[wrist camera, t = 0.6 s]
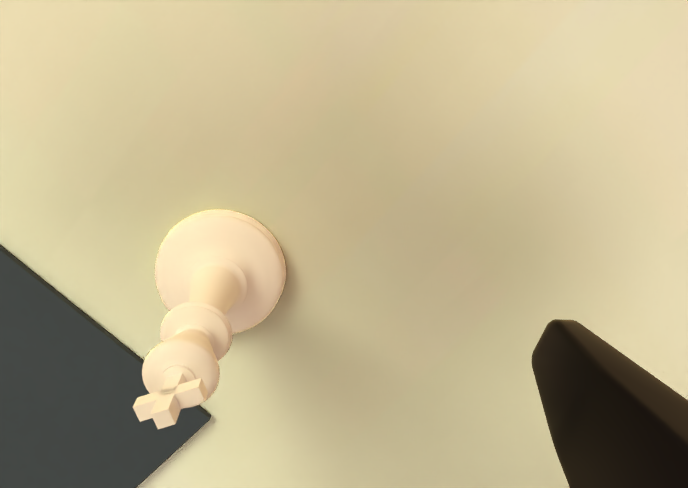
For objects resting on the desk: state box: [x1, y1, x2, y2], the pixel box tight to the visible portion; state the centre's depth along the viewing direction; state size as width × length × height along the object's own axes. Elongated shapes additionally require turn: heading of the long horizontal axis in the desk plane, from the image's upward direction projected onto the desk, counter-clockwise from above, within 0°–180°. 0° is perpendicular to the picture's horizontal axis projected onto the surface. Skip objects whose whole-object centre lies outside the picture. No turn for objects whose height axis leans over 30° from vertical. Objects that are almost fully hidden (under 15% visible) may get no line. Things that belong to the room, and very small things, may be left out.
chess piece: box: [133, 209, 286, 429], centre depth 19 cm, size 5×5×10 cm
